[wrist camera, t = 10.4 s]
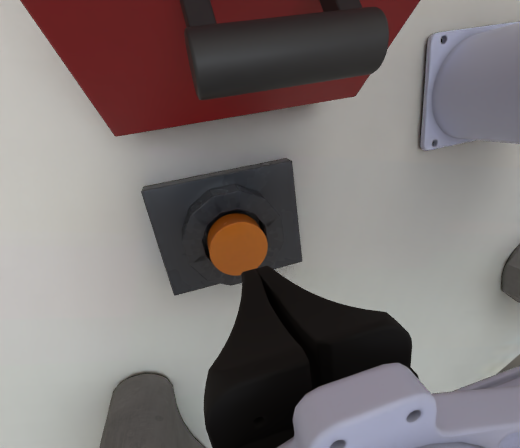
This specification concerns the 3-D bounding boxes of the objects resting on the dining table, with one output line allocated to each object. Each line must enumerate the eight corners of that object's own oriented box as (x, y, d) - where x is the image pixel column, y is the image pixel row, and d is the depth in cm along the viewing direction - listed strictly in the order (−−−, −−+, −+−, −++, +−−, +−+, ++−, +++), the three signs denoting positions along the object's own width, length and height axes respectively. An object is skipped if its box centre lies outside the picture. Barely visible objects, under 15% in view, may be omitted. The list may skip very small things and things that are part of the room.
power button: (256, 207, 19) (263, 215, 17) (264, 255, 20) (271, 267, 19) (201, 219, 18) (203, 230, 17) (213, 268, 20) (216, 282, 18)
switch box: (286, 158, 21) (302, 164, 18) (297, 254, 24) (311, 273, 21) (142, 186, 19) (136, 198, 16) (174, 287, 22) (173, 311, 20)
